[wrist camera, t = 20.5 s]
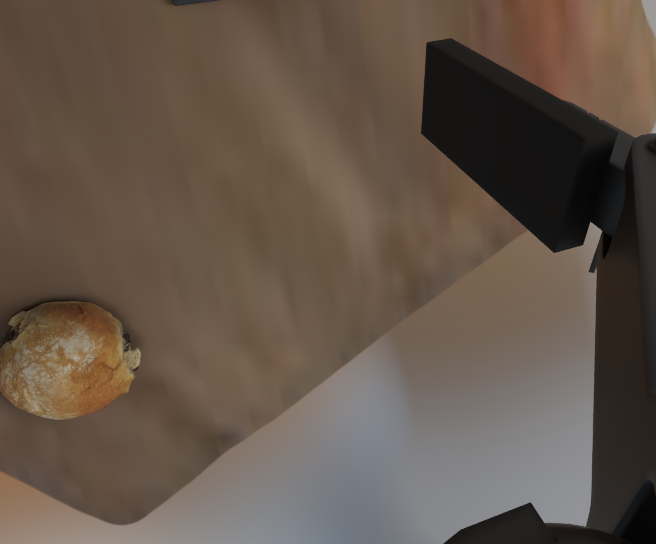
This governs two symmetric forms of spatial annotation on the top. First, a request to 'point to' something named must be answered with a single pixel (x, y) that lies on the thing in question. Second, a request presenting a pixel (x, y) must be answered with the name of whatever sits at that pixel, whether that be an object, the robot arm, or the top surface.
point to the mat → (189, 1)
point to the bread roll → (66, 360)
